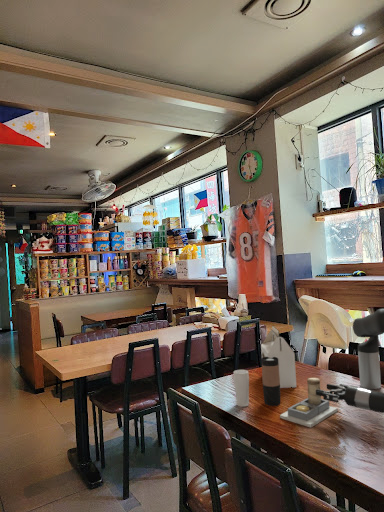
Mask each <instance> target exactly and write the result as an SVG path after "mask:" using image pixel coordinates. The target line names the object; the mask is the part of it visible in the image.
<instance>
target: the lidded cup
mask: <svg viewBox="0 0 384 512" xmlns="http://www.w3.org/2000/svg"><path fill="white" fill-rule="evenodd" d="M306 381H307V398H308V399H309V404H313V405H316V406H318V405H320V404H321V399H322V396H319V395H316V389H319V390H321V379H320V378H318V377H309V378H307V380H306Z"/></svg>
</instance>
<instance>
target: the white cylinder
mask: <svg viewBox="0 0 384 512" xmlns="http://www.w3.org/2000/svg"><path fill="white" fill-rule="evenodd" d="M233 385H234V391H235V398H236V405H237V407H240V408H245V407H248V406H249V404H250V401H249V399H250V397H249V395H250V393H249V391H250V388H249V387H250V375H249V370H246V369H237V370H234V371H233Z"/></svg>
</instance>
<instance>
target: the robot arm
mask: <svg viewBox="0 0 384 512" xmlns="http://www.w3.org/2000/svg"><path fill="white" fill-rule="evenodd" d="M352 331H353V333H354V335H355V336H356V337H358V338H368V339H367V340H365V341H363V342H361V343H359V344H357V354H358V370H359V385H360V386H354V385H346V384H342V383H339V384H331V383H327V384H326V390H324V389H320V390H319V389H316V395H319V396H321V397H322V399H323V400H327V401H329V402H334V403H339V401H344V402H345V404H346V405H347V406H349V407H354V408H358V409H362V410H367V411H372V412H373V411H374V412H375V413H381V414H384V392H380V391H377V390H378V389H381V388H382V383H381V366H380V351H379V345H380V344H379V336H381V335H383V334H384V308H379V309H376V311H374V313H370V314H368V315H367V316H364V317H362V318H361V317H357V318H355V319H354V320H353V323H352Z"/></svg>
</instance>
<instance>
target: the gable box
mask: <svg viewBox="0 0 384 512" xmlns="http://www.w3.org/2000/svg"><path fill="white" fill-rule="evenodd" d="M269 329H270V331H269V332H268V333H267V335H266V337H265V338H264V340H263V342H262V343H261V344H260V349H261V359H262V358H263V357H269V358H273V357H277V358H278V362H279V376H280V389H288V388H290V389H291V387H292V388H297V374H296V360H295V359H296V358H295V357H296V356H295V352H294V350H293V349H292V348H291V346H290V345H289V344H288V342H287V341H286V340H285V338H284V337H282V336H280V331H279V329H278V328H276V327H275V326H273V325H272V327H271V328H269Z"/></svg>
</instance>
